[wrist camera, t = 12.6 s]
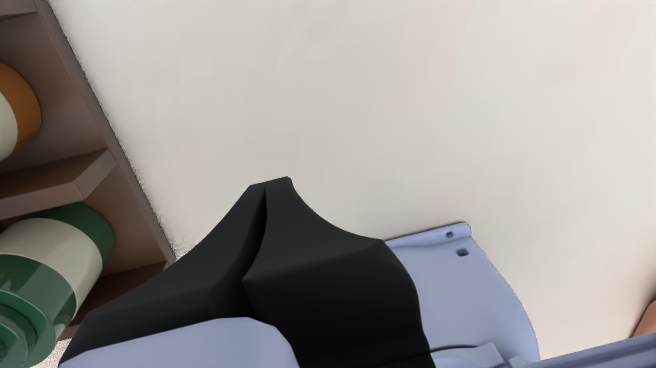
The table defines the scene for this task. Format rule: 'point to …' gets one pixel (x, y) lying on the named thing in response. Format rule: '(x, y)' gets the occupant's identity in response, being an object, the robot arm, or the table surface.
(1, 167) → the rack
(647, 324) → the brown block
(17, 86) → the amber bottle
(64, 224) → the dark green bottle
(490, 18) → the table surface
